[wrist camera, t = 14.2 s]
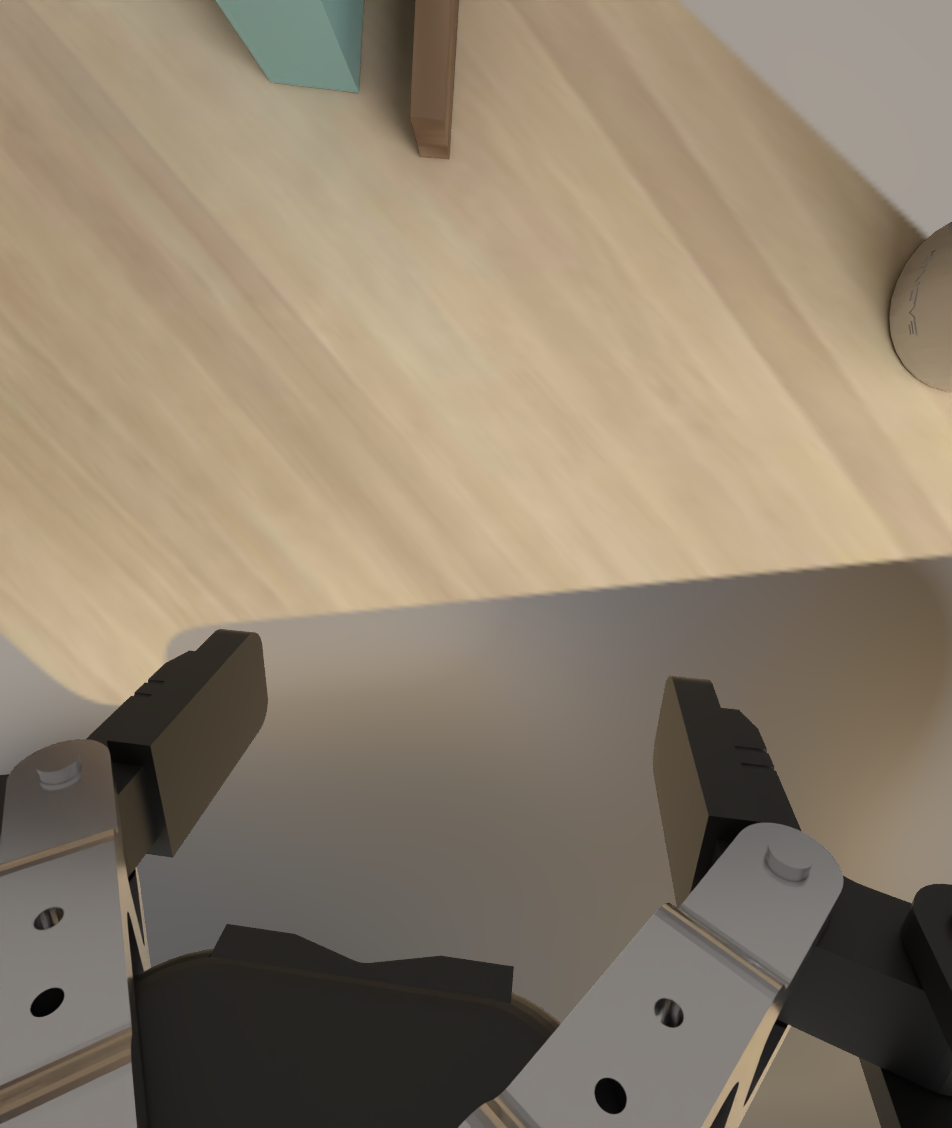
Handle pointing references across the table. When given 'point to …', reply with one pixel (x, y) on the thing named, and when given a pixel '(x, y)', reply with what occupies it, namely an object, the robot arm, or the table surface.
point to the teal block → (302, 39)
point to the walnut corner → (433, 75)
